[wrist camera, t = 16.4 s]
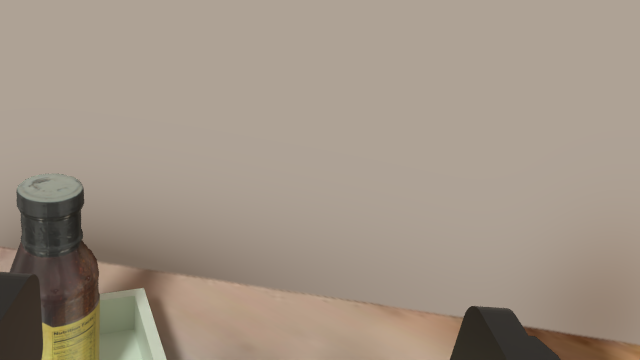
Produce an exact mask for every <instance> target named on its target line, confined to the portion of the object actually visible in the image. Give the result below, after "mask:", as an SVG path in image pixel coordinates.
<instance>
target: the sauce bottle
mask: <svg viewBox="0 0 640 360" xmlns="http://www.w3.org/2000/svg"><path fill="white" fill-rule="evenodd" d="M83 204H84V190H83V186H82V184H81V182H80V181H79V180H78V179H76V178H74V177H70V176H67V175H63V174H43V175H38V176H33V177H31V178H28V179H26V180H25V181H23V182H22V183H21V184H20V185H19V186H18V188H17V207H18V209H19V210H20V212H21V227H22V236H21V243H20V246H19V248H18V251H17V253H16V256H15V259H14V262H13V264H12V267H11V270H10V273H22V274H35V275H37V277H38V279H39V283H40V297H41V314H42V330H43V354H42V360H99V342H100V294H99V290H98V277H99V271H98V270H99V269H98V264H97V259H96V258H95V256H94V255H93V253H92V251H91V250H90V249H88V247H87V246H86V245H85V244H84V242H83V241H82V238H83V232H82V229H81V209H82V207H83Z"/></svg>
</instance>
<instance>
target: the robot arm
mask: <svg viewBox="0 0 640 360" xmlns="http://www.w3.org/2000/svg"><path fill="white" fill-rule="evenodd" d="M42 354H43V330H42V314H41V297H40V283H39V279H38V277H37V275H35V274H22V273H8V272H0V360H42ZM450 360H560V358H559V357H558V355H556V354H555V353H554V352H553V351H552V350H551V349H549V348H548V347H547V346H546V345H545V344H544V343H542V342H541V341H540V340H539V339H538V338H537V337H535V336H528V334H527V333H526V331H525V329H524V328H523V326H522V325H521V323H520V322H519V320H518V319H517V317H516V316H515V314H514V313H513V311H511V310H510V309H507V308H492V307H478V306H471V307H470V308H468V310H467V311H466V313H465V316H464V318H463V322H462V325H461V328H460V331H459V334H458V337H457V340H456V343H455V346H454V349H453V352H452V355H451V358H450Z"/></svg>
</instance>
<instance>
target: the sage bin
mask: <svg viewBox="0 0 640 360" xmlns="http://www.w3.org/2000/svg"><path fill="white" fill-rule="evenodd" d="M99 360H167V359H166V356H165V353H164V350H163V347H162V344H161V341H160V337H159V334H158V331H157V328H156V325H155V322H154V319H153V315H152V312H151V309H150V306H149V303H148V300H147V297H146V293H145V290H144V288H139V289H132V290H125V291H118V292H110V293H103V294H100V342H99Z"/></svg>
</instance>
